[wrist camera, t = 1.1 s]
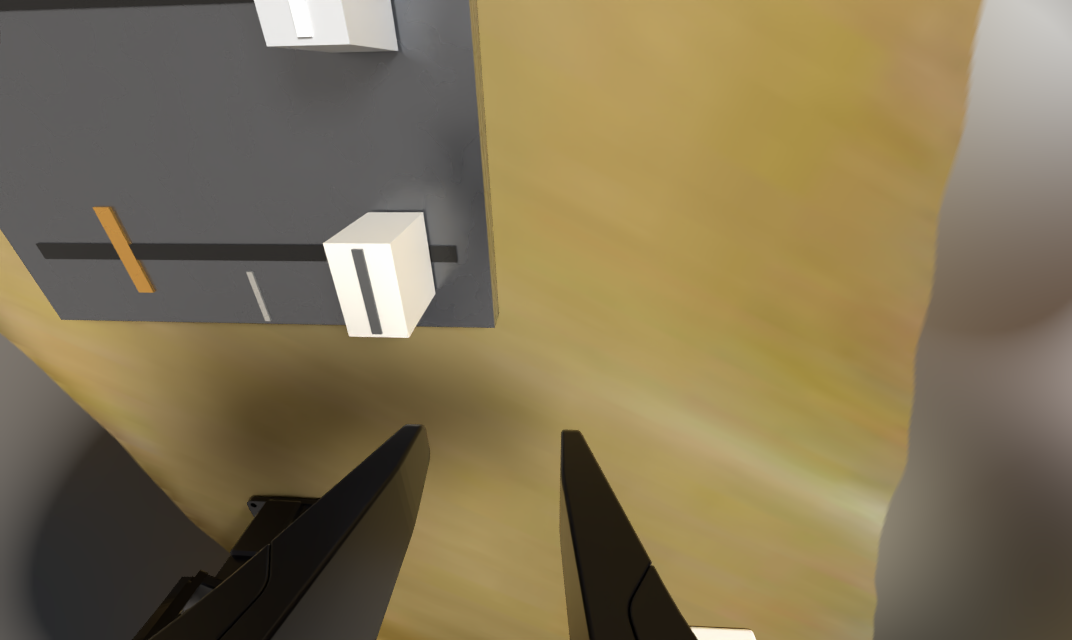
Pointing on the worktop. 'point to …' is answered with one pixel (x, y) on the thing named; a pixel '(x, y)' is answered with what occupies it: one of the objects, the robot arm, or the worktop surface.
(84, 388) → the worktop surface
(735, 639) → the white square decanter
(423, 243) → the block
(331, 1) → the block white
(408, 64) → the panel
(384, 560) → the robot arm
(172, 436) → the worktop surface
